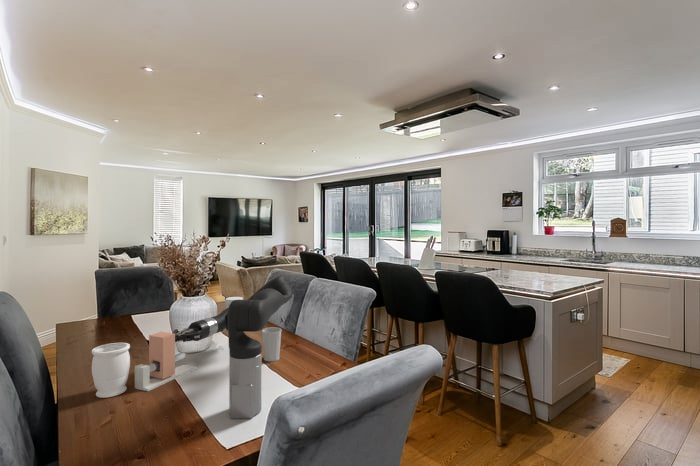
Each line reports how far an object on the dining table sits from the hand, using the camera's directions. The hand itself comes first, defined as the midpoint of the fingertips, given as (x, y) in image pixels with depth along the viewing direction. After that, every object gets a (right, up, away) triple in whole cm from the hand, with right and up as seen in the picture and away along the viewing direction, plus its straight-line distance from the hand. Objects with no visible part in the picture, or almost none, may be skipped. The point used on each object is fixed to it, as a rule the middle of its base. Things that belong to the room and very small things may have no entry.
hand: (168, 341), depth 134 cm
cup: (+34, -13, +19) cm, 41 cm away
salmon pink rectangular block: (-1, -11, -2) cm, 12 cm away
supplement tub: (+2, -12, +70) cm, 71 cm away
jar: (-12, -13, -13) cm, 22 cm away
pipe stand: (0, -13, -1) cm, 13 cm away
